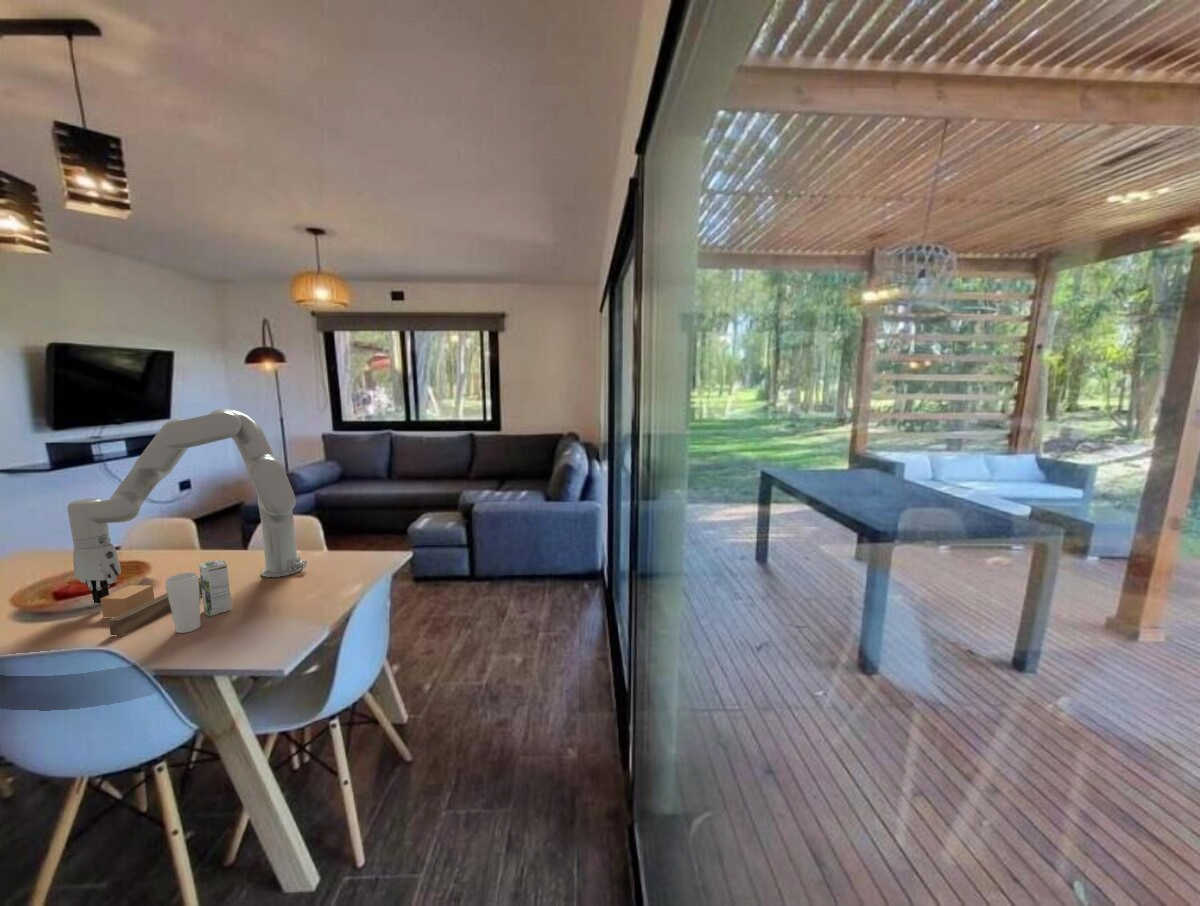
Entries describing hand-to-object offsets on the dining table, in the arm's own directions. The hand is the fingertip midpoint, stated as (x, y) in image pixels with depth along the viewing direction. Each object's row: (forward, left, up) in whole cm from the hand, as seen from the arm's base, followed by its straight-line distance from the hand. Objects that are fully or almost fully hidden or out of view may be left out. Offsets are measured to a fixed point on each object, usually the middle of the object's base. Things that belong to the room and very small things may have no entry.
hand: (101, 601), depth 150 cm
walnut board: (-20, 0, -3) cm, 20 cm away
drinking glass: (-36, +9, -3) cm, 37 cm away
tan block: (-9, 0, -3) cm, 9 cm away
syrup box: (-35, -2, -3) cm, 35 cm away
